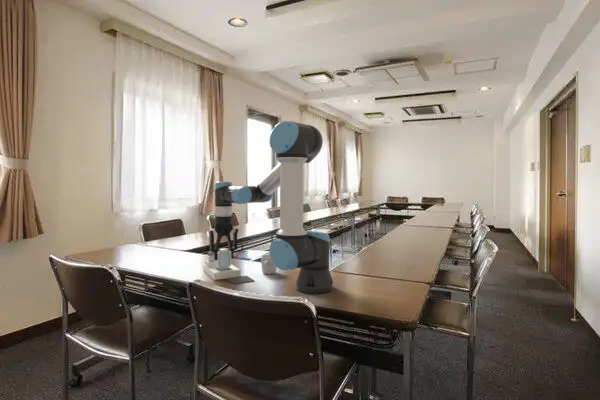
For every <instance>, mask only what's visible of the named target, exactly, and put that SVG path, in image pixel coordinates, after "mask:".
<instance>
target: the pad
mask: <svg viewBox="0 0 600 400" xmlns="http://www.w3.org/2000/svg"><path fill="white" fill-rule="evenodd" d="M227 280H228V281H229V282H231V283H232V284H233V285H240V284H246V283H253V282H255V279H253V278H252V277H250V276H248V275H242V276H241V275H240V277H232V278H227Z"/></svg>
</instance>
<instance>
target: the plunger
mask: <svg viewBox="0 0 600 400" xmlns="http://www.w3.org/2000/svg"><path fill="white" fill-rule="evenodd" d="M207 255H208V260H209V262H212V261H216V260H214V252H211V251H208V253H207Z"/></svg>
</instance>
